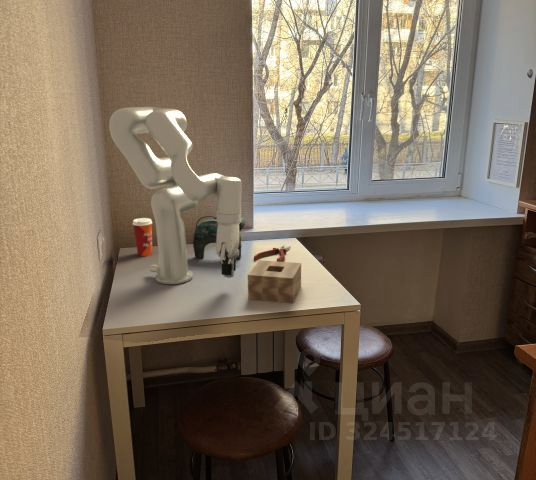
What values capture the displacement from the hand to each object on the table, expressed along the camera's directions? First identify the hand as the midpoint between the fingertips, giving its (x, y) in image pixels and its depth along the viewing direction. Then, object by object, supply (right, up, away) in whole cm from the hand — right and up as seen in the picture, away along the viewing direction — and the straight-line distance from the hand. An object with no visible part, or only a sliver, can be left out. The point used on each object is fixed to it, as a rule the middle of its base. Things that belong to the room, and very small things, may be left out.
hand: (228, 271), depth 158 cm
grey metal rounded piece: (0, -1, 0) cm, 1 cm away
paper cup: (-37, +5, +39) cm, 54 cm away
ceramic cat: (-6, +3, +33) cm, 33 cm away
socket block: (+15, -6, -1) cm, 16 cm away
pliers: (+17, +3, +34) cm, 38 cm away
